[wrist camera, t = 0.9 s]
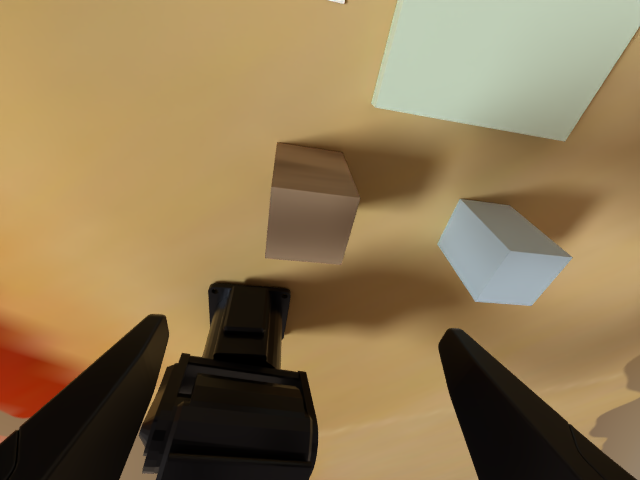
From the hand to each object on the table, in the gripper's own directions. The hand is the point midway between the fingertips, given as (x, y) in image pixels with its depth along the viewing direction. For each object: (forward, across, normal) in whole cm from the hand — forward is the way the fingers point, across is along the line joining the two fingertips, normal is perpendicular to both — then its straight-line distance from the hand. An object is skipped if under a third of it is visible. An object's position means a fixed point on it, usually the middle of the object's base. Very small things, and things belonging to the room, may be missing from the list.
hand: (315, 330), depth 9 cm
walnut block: (+12, 0, 0) cm, 12 cm away
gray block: (+12, -13, +2) cm, 18 cm away
